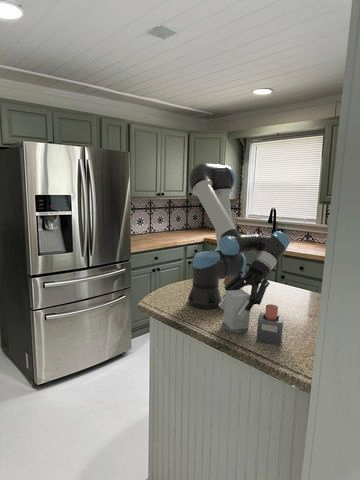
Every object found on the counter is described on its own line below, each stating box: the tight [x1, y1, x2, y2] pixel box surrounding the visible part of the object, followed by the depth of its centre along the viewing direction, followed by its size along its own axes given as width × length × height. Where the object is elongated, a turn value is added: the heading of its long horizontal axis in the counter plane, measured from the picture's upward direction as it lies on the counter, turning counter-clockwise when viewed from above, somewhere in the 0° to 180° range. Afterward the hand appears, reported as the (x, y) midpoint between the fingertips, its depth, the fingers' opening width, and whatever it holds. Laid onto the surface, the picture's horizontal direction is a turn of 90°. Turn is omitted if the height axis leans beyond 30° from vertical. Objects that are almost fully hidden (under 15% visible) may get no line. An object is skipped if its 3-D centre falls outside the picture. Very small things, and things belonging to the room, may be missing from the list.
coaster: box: [221, 321, 249, 335], centre depth 121 cm, size 10×10×1 cm
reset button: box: [264, 303, 279, 321], centre depth 111 cm, size 4×4×7 cm
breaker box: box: [256, 311, 285, 346], centre depth 112 cm, size 8×7×8 cm
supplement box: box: [222, 289, 251, 330], centre depth 119 cm, size 7×7×13 cm
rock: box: [223, 277, 235, 286], centre depth 174 cm, size 11×9×10 cm
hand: (229, 311), depth 118 cm, fingers open, 10 cm apart
